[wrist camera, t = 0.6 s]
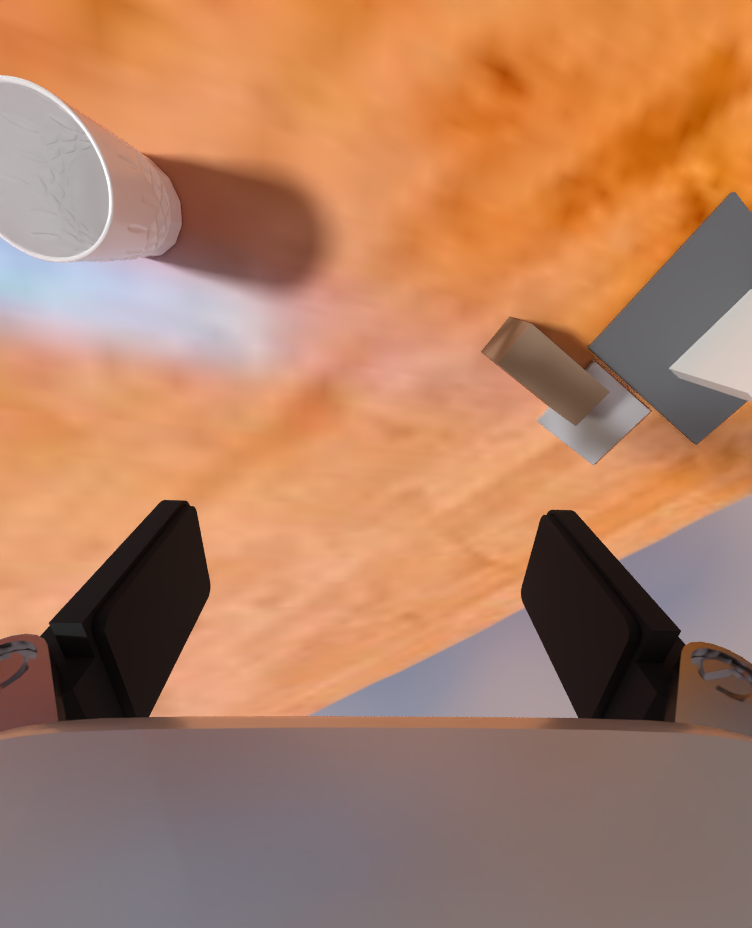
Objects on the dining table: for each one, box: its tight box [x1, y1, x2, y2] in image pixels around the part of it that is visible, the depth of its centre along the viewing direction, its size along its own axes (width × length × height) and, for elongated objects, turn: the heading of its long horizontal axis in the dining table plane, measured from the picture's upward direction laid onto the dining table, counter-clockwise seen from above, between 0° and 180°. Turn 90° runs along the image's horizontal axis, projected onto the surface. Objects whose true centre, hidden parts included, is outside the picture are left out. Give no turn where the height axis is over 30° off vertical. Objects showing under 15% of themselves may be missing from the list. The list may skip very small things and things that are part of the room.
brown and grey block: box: [481, 317, 650, 465], centre depth 34 cm, size 7×17×5 cm, turn 54°
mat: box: [588, 192, 752, 445], centre depth 34 cm, size 14×16×1 cm
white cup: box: [0, 75, 182, 262], centre depth 24 cm, size 8×8×10 cm
